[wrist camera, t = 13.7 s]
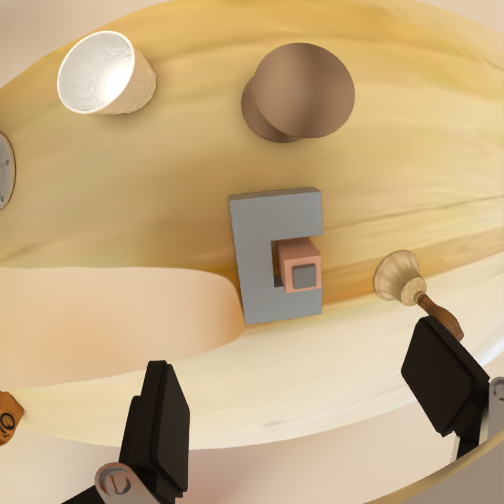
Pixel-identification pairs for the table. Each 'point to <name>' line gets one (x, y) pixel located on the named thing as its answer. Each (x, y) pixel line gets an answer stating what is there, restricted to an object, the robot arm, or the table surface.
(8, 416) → the coffee package
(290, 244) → the copper brown square peg
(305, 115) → the bobbin
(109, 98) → the white cup
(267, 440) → the table surface
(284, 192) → the notch board
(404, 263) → the hand bell
